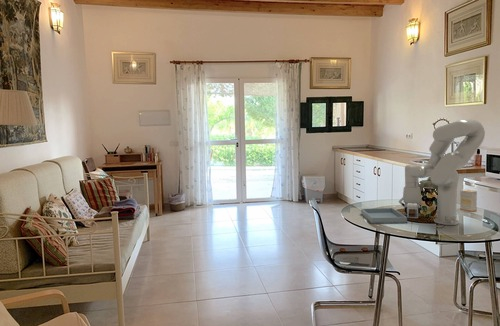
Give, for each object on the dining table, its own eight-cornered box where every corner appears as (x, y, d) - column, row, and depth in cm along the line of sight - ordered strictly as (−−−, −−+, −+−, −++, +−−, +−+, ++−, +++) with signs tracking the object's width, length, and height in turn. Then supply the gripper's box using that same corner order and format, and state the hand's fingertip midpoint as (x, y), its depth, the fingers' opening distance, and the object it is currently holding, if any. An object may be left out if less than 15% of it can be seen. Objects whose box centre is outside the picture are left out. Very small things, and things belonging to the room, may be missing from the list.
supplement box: (477, 211, 225) (477, 190, 224) (471, 212, 223) (472, 191, 222) (464, 208, 233) (465, 189, 232) (459, 209, 231) (460, 189, 230)
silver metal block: (418, 218, 211) (417, 208, 211) (407, 217, 214) (407, 208, 213) (417, 213, 222) (417, 204, 222) (407, 213, 225) (406, 204, 224)
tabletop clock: (438, 204, 247) (438, 169, 245) (445, 207, 238) (446, 170, 236) (417, 205, 248) (418, 169, 245) (424, 208, 238) (424, 171, 236)
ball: (416, 214, 219) (416, 211, 217) (410, 215, 220) (410, 212, 217) (414, 210, 222) (414, 206, 219) (408, 211, 222) (408, 207, 220)
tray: (407, 223, 203) (407, 217, 203) (371, 223, 205) (371, 217, 204) (392, 213, 227) (392, 208, 227) (361, 214, 228) (361, 208, 228)
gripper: (427, 184, 217) (427, 213, 218) (396, 184, 224) (397, 212, 225) (427, 186, 210) (428, 215, 211) (396, 185, 217) (397, 214, 218)
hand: (412, 213), depth 218 cm, fingers closed on silver metal block, 6 cm apart
